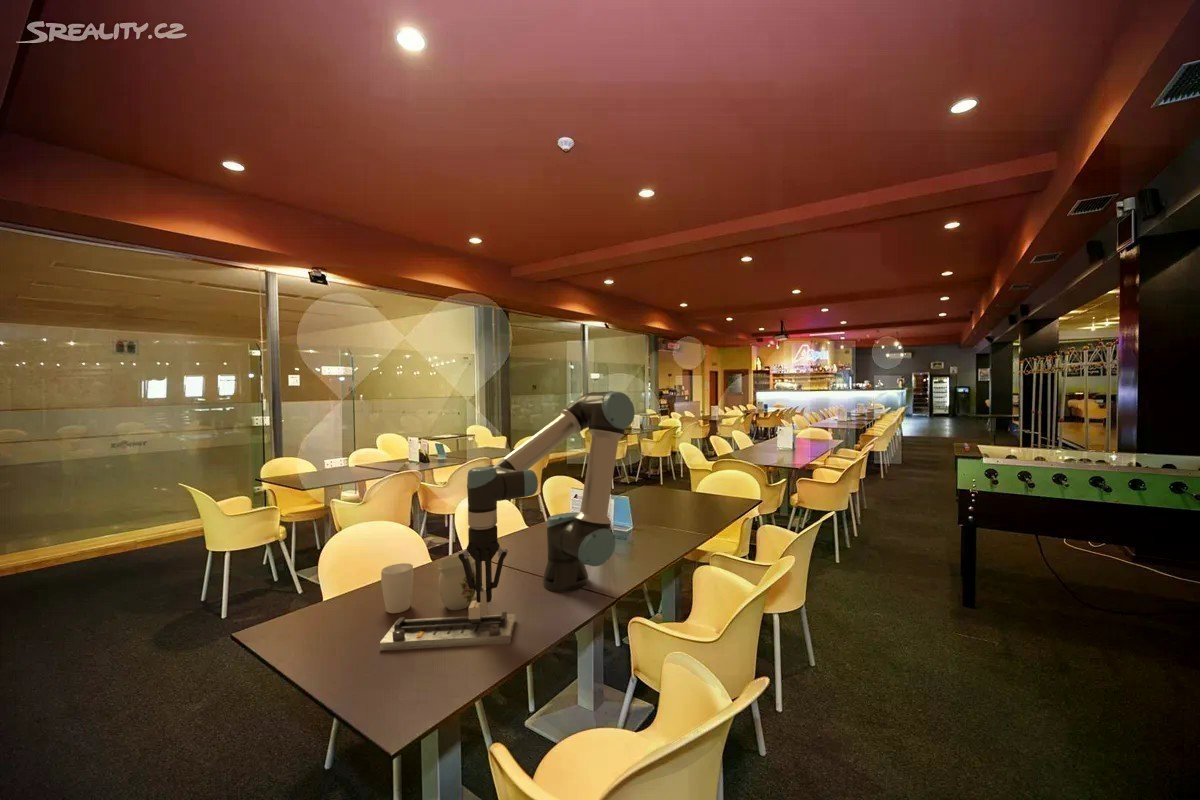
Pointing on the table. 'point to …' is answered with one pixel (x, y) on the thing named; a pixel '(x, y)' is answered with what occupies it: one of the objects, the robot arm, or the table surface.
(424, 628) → the console
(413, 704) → the table surface
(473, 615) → the fader
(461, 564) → the pitcher
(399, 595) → the cup
